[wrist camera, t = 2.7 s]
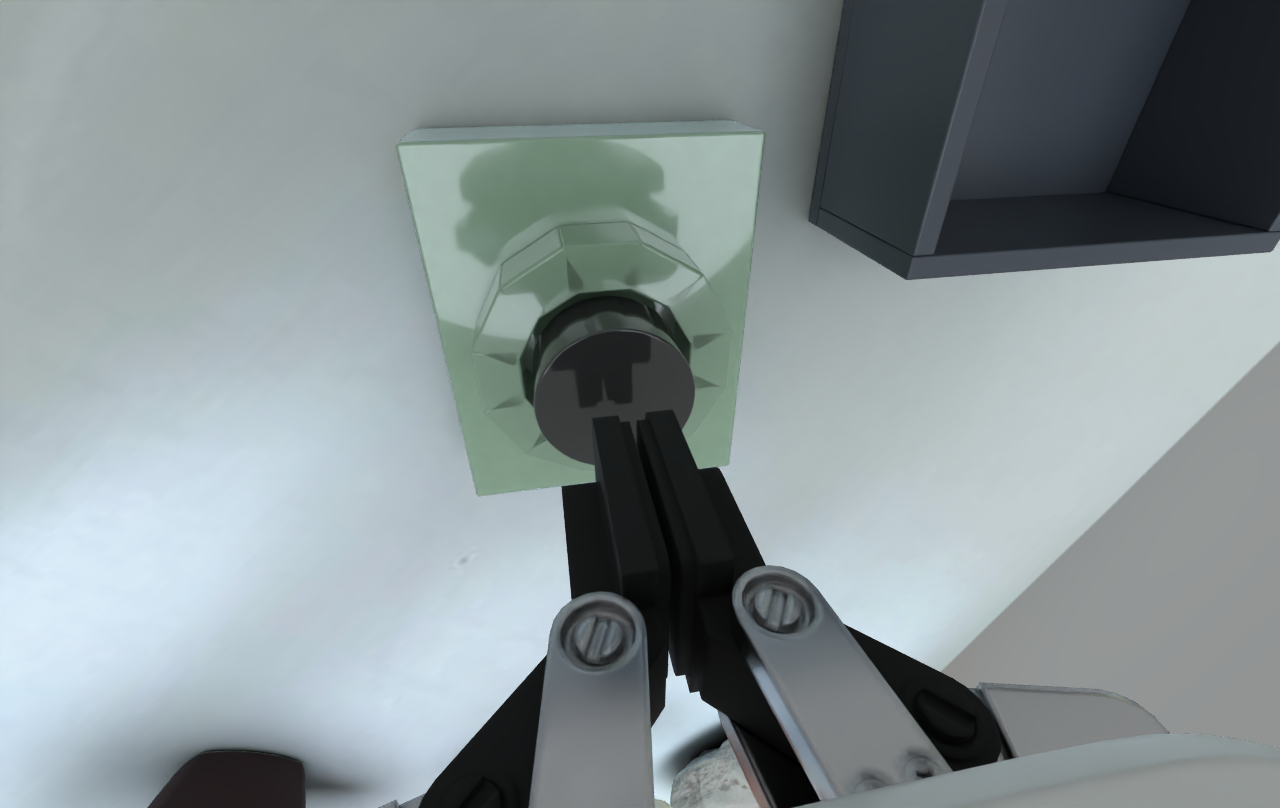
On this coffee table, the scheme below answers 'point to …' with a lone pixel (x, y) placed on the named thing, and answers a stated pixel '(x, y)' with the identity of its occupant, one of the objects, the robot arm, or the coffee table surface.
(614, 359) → the button top
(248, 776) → the mug
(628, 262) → the push button base
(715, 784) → the decorative stone
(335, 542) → the coffee table surface
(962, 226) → the bin
